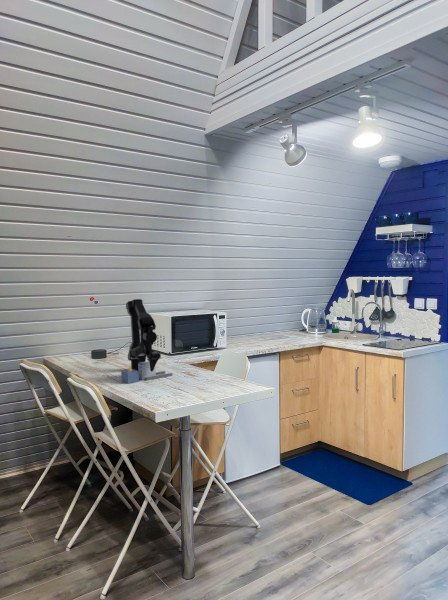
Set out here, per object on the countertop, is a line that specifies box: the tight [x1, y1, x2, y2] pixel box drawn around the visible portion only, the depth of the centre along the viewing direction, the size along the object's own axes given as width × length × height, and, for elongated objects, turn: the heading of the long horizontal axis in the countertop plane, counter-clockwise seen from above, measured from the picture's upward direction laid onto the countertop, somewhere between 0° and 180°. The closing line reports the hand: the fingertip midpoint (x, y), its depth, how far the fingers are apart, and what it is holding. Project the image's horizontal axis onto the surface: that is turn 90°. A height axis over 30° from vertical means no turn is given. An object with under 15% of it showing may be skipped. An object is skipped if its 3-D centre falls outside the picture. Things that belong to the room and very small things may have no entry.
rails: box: [144, 370, 173, 381], centre depth 238 cm, size 8×16×1 cm, turn 130°
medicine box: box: [138, 360, 157, 381], centre depth 235 cm, size 8×4×9 cm, turn 131°
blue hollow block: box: [120, 369, 140, 385], centre depth 228 cm, size 7×6×6 cm
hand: (147, 370), depth 235 cm, fingers open, 9 cm apart
